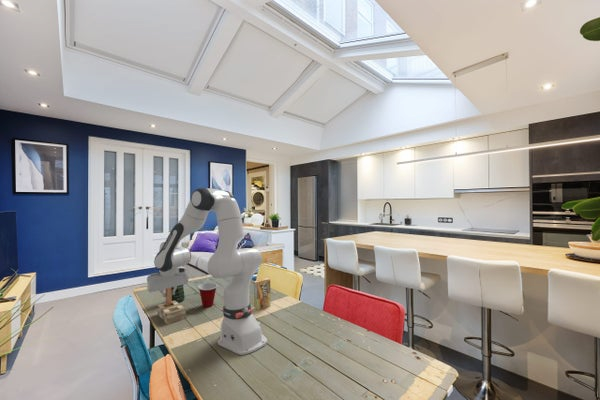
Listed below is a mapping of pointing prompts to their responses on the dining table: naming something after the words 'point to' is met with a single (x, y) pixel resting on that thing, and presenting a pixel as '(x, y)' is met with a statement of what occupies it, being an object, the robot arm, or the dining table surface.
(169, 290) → the peg
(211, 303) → the plastic cup
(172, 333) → the dining table surface
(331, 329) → the dining table surface
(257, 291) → the candy box
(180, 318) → the hole block
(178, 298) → the coffee jar
